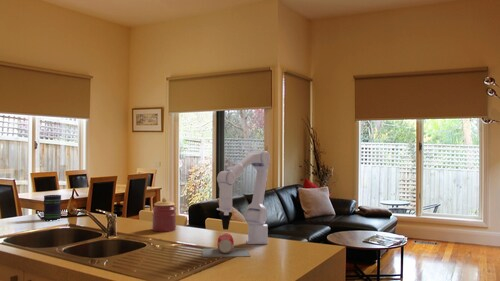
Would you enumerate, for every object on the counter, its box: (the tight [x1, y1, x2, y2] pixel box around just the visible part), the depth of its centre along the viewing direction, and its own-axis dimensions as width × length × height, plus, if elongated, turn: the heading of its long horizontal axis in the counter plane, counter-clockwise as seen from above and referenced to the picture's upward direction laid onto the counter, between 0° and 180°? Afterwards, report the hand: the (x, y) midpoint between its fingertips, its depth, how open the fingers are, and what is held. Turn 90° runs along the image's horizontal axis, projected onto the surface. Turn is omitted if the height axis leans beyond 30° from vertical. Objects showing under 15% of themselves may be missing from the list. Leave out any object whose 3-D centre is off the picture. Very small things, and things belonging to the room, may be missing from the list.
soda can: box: [216, 232, 235, 253], centre depth 183 cm, size 7×7×12 cm
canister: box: [151, 197, 177, 233], centre depth 232 cm, size 13×13×18 cm
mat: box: [201, 247, 251, 258], centre depth 181 cm, size 20×14×1 cm
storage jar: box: [43, 194, 62, 221], centre depth 260 cm, size 10×10×15 cm
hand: (225, 229), depth 185 cm, fingers closed
